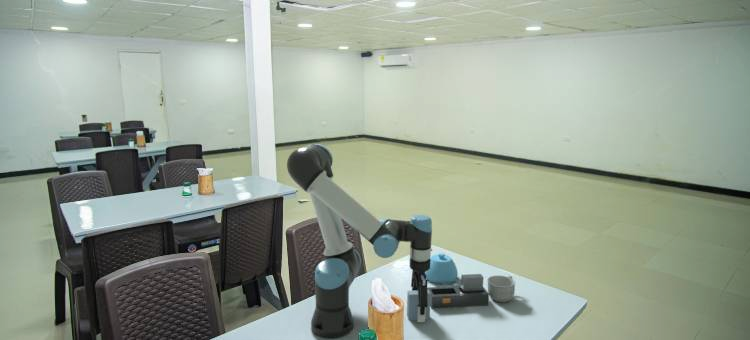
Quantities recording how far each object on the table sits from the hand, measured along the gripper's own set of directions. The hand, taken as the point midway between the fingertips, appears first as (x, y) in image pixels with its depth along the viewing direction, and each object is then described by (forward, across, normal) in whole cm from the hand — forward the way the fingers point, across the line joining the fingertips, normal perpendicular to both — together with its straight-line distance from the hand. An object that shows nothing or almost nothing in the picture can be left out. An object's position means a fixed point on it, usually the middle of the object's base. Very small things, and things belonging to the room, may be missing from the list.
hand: (418, 314), depth 153 cm
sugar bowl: (+1, +31, -17) cm, 36 cm away
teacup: (+1, +11, -38) cm, 40 cm away
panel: (+1, 0, 0) cm, 1 cm away
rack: (+1, +9, -18) cm, 20 cm away
